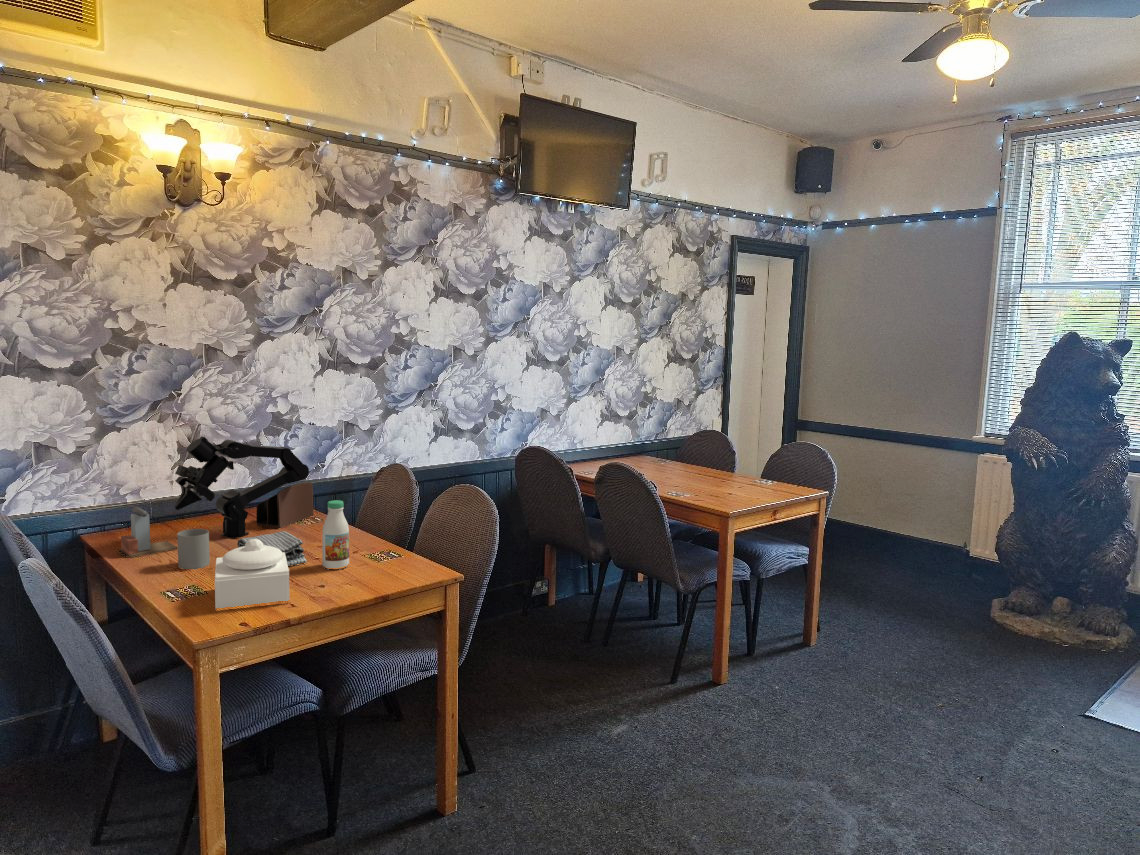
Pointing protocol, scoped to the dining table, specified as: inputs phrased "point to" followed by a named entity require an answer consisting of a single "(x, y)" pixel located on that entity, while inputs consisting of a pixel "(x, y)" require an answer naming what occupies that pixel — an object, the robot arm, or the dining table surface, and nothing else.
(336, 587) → the dining table surface
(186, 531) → the cup
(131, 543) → the tan base plate
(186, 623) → the dining table surface
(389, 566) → the dining table surface
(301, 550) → the towel
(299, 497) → the letter holder
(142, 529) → the grey t-shaped piece
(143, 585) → the dining table surface
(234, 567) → the white block with dome
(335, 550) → the milk bottle
